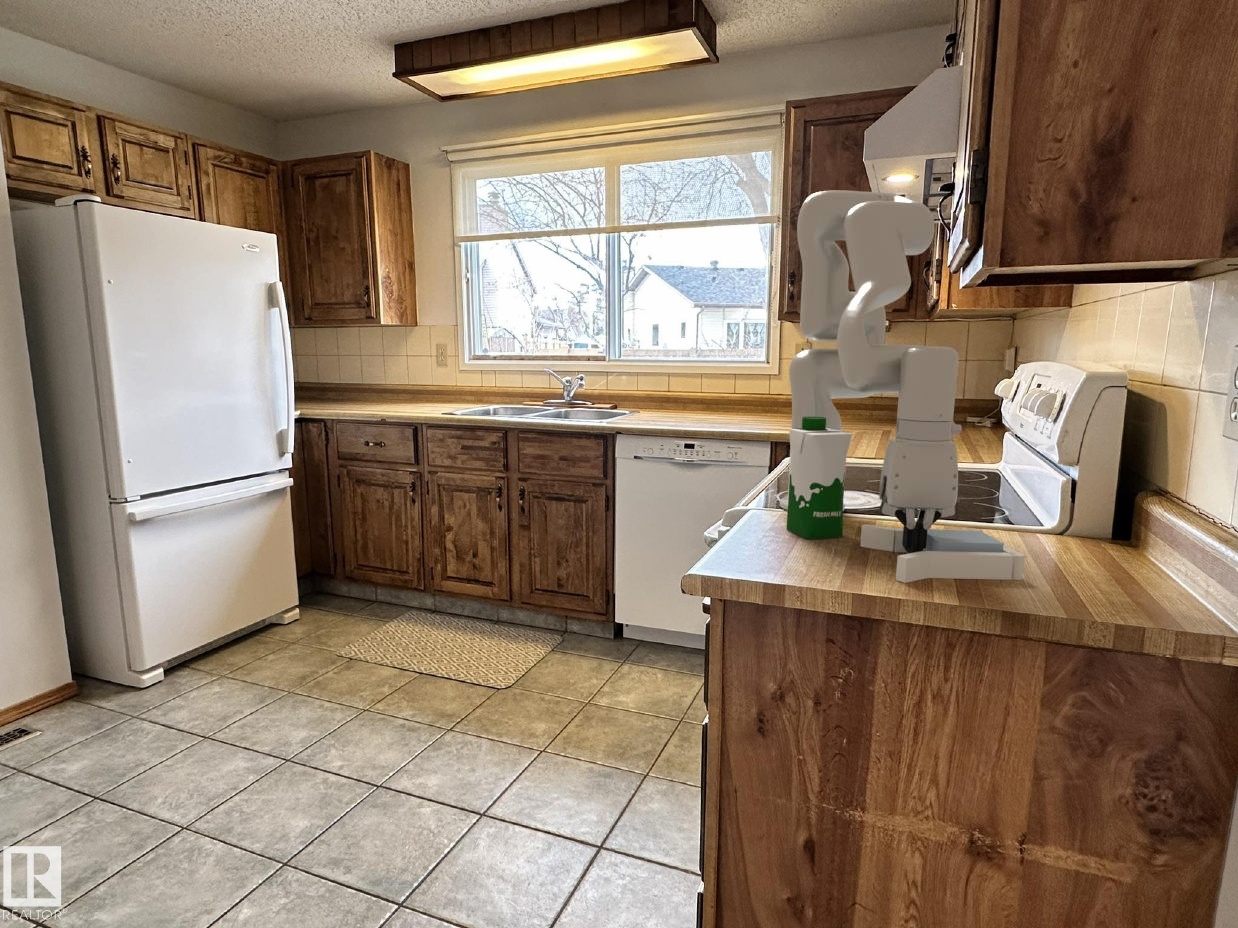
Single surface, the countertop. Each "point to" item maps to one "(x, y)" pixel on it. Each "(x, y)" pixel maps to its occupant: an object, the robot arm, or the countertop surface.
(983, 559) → the bay
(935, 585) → the countertop surface
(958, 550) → the grey boxy piece
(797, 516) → the milk carton
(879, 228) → the robot arm
